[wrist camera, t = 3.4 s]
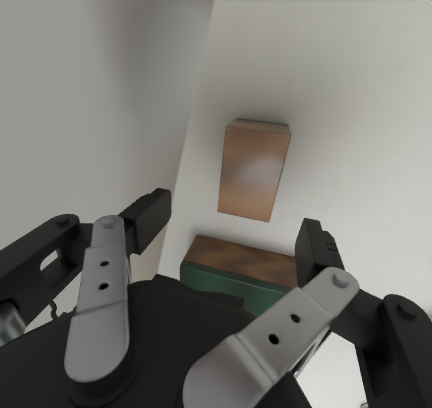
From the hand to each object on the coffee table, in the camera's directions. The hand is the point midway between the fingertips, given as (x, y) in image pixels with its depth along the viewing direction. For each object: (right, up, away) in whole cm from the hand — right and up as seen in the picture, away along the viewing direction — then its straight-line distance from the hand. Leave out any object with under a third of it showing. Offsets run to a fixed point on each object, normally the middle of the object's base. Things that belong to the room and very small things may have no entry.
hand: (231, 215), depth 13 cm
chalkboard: (+2, -16, +22) cm, 27 cm away
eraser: (+3, +5, +10) cm, 12 cm away
